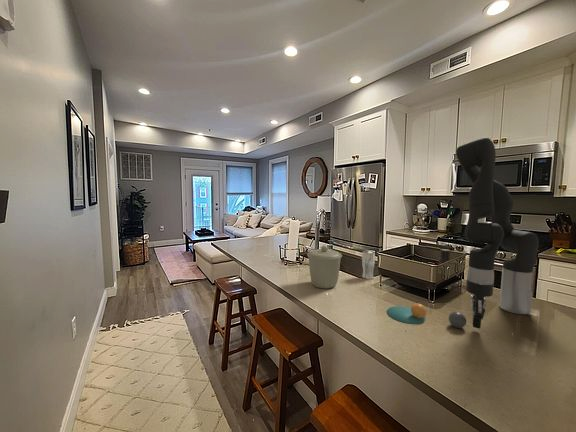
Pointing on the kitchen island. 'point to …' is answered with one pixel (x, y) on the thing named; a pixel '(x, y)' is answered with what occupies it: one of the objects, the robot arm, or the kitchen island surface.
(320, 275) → the canister
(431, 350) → the kitchen island surface
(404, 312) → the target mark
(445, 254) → the sauce bottle
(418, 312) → the object ball
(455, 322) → the blue-grey ball
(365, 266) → the beer glass
